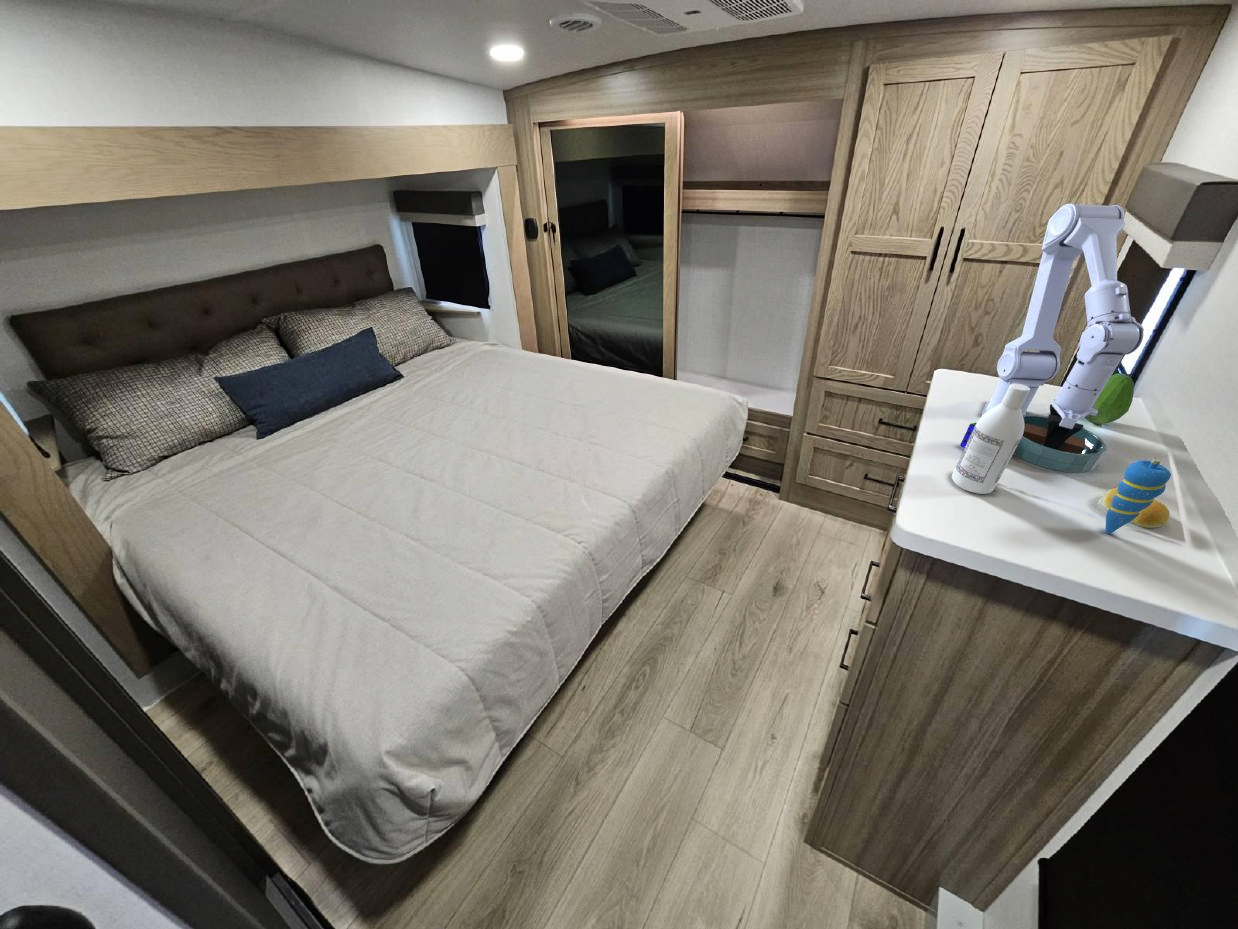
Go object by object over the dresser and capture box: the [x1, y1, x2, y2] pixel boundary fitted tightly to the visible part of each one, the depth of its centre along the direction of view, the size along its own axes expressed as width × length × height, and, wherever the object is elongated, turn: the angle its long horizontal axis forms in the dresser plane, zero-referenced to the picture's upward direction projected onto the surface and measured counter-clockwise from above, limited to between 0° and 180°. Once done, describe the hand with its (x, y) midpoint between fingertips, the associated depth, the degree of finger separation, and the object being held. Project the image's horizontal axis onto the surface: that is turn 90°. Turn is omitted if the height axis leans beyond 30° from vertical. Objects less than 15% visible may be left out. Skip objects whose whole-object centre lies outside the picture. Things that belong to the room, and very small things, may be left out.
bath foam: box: [951, 383, 1030, 495], centre depth 91 cm, size 7×7×20 cm
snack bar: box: [1022, 424, 1085, 454], centre depth 105 cm, size 10×4×3 cm, turn 51°
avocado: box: [1084, 372, 1135, 425], centre depth 115 cm, size 8×8×12 cm
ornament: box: [1104, 455, 1172, 535], centre depth 81 cm, size 5×5×15 cm
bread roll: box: [1098, 486, 1171, 529], centre depth 89 cm, size 8×9×4 cm
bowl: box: [1013, 414, 1107, 474], centre depth 105 cm, size 16×16×4 cm
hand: (1049, 444), depth 105 cm, fingers closed on snack bar, 4 cm apart
